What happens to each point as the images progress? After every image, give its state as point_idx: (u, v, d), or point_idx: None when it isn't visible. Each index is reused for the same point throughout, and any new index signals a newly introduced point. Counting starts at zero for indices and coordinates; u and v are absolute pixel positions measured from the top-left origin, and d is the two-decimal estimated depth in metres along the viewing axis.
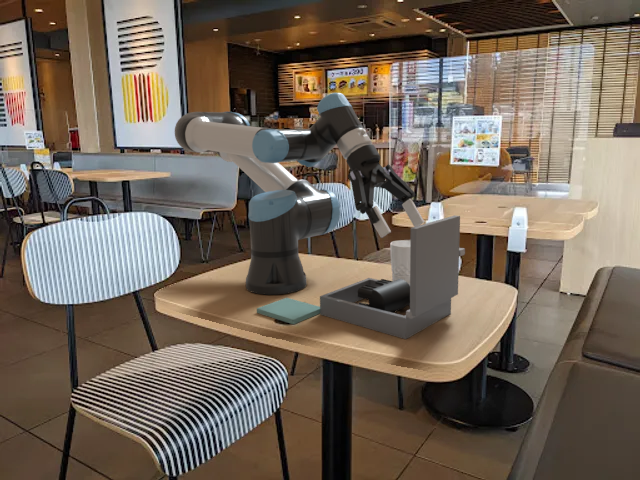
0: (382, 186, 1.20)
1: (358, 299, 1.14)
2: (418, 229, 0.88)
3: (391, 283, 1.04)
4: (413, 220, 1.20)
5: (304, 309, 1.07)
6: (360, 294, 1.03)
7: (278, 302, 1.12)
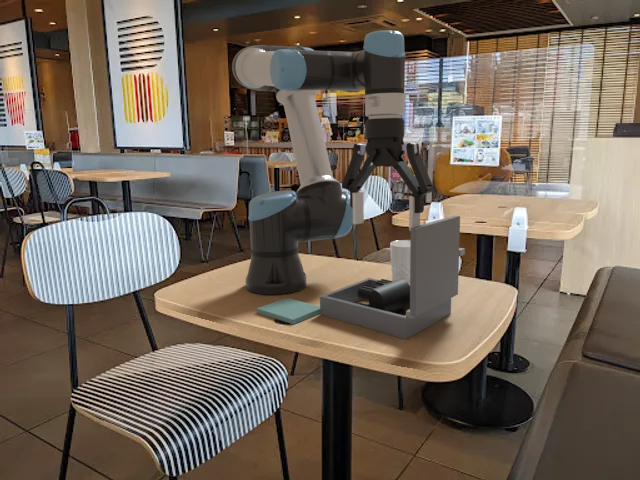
0: None
1: (358, 299, 1.14)
2: (418, 229, 0.88)
3: (391, 283, 1.04)
4: None
5: (304, 309, 1.07)
6: (360, 294, 1.03)
7: (278, 302, 1.12)
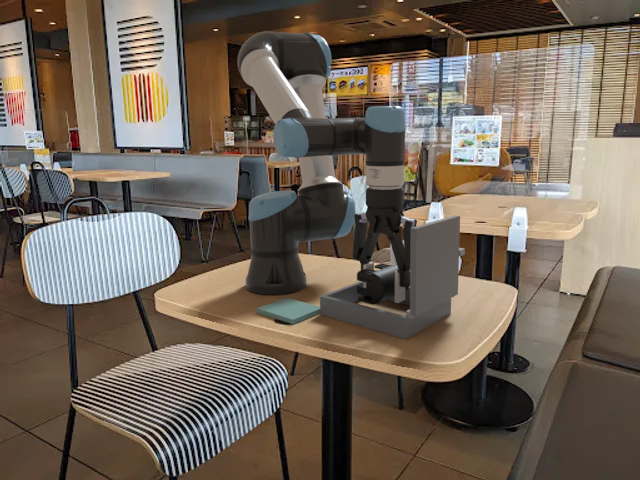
0: None
1: None
2: (418, 229, 0.88)
3: (390, 267, 1.04)
4: None
5: (304, 309, 1.07)
6: (359, 278, 1.03)
7: (278, 302, 1.12)
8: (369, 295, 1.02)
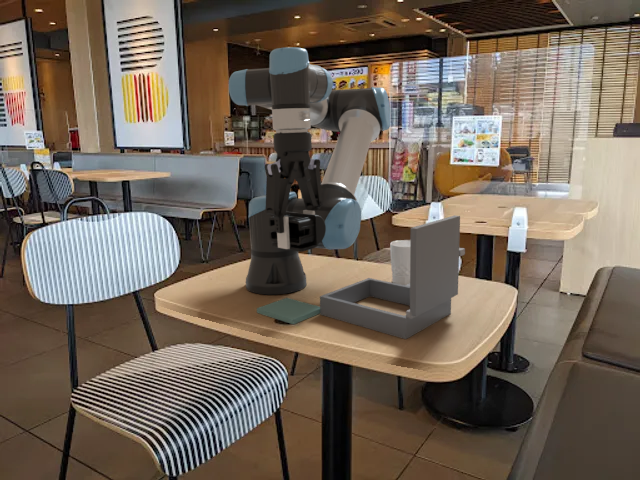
0: (296, 178, 1.04)
1: (358, 299, 1.14)
2: (418, 229, 0.88)
3: None
4: None
5: (304, 309, 1.07)
6: (303, 226, 0.99)
7: (278, 302, 1.12)
8: (311, 240, 1.02)
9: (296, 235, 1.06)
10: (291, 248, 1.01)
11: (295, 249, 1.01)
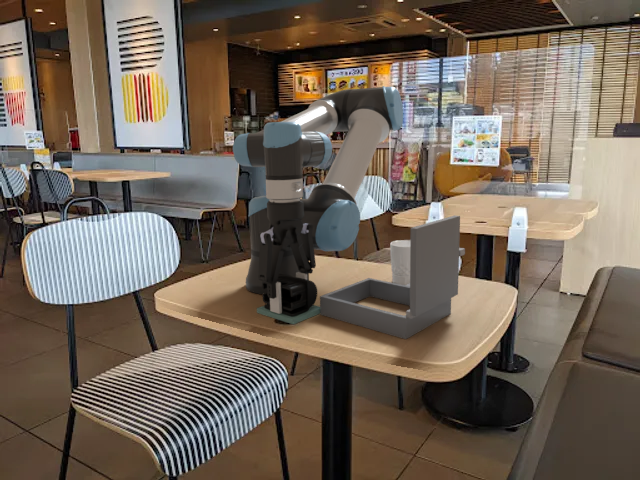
0: (289, 243, 1.07)
1: (358, 299, 1.14)
2: (418, 229, 0.88)
3: (288, 276, 1.08)
4: None
5: None
6: (295, 292, 1.02)
7: None
8: (303, 304, 1.04)
9: (288, 297, 1.09)
10: (283, 312, 1.04)
11: (287, 314, 1.03)
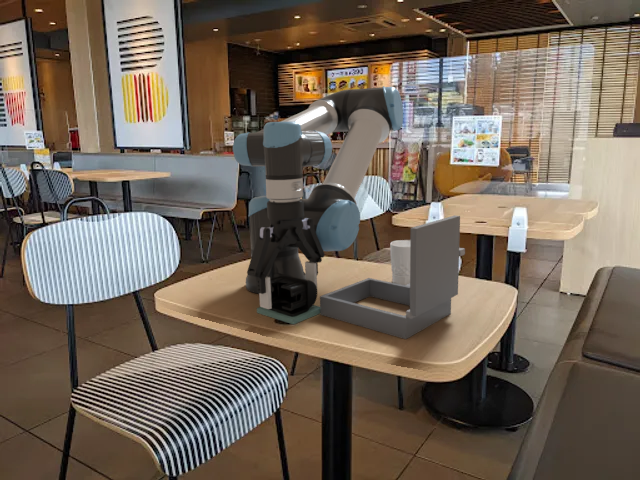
0: None
1: (358, 299, 1.14)
2: (418, 229, 0.88)
3: (289, 276, 1.08)
4: None
5: None
6: (295, 292, 1.02)
7: None
8: (303, 304, 1.04)
9: (288, 297, 1.09)
10: (283, 312, 1.04)
11: (287, 314, 1.03)
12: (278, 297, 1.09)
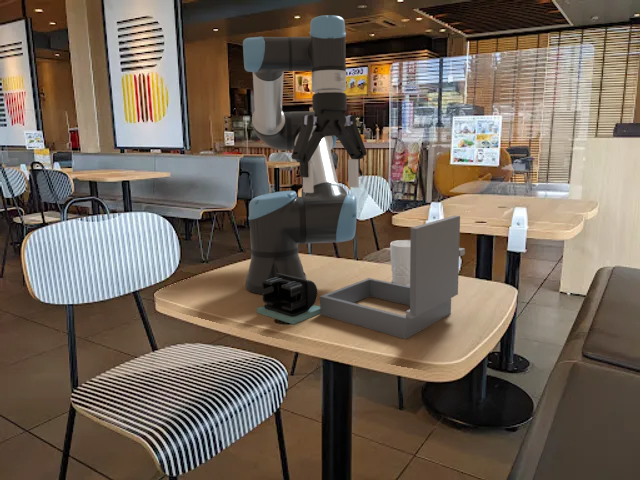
0: (336, 135, 1.15)
1: (358, 299, 1.14)
2: (418, 229, 0.88)
3: (288, 276, 1.08)
4: (350, 180, 1.19)
5: None
6: (295, 292, 1.02)
7: None
8: (303, 304, 1.04)
9: (288, 297, 1.09)
10: (283, 312, 1.04)
11: (287, 314, 1.03)
12: (278, 297, 1.09)
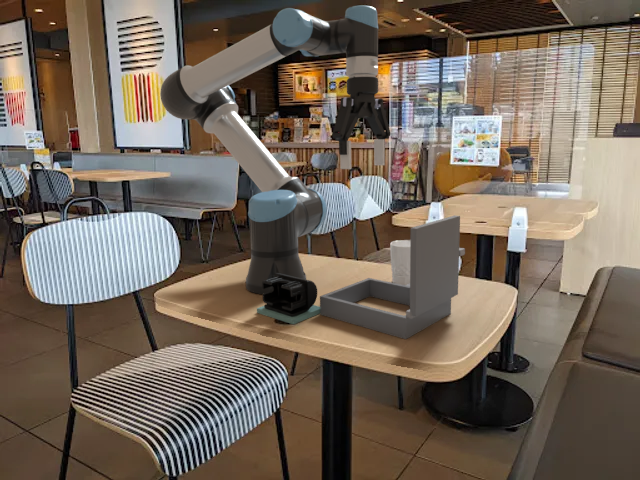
0: (366, 117, 1.25)
1: (358, 299, 1.14)
2: (418, 229, 0.88)
3: (289, 276, 1.08)
4: (376, 158, 1.30)
5: None
6: (295, 292, 1.02)
7: None
8: (303, 304, 1.04)
9: (288, 297, 1.09)
10: (283, 312, 1.04)
11: (287, 314, 1.03)
12: (278, 297, 1.09)
